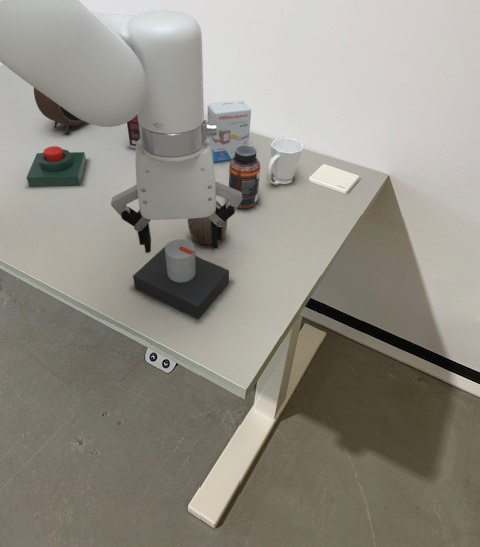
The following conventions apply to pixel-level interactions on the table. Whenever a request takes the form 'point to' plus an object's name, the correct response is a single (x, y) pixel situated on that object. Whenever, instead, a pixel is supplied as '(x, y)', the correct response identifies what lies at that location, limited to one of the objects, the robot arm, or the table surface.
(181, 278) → the dial
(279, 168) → the cup
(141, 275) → the dial panel
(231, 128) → the ink box
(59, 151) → the lid button
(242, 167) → the supplement bottle
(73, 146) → the table surface
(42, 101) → the alarm clock
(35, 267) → the table surface
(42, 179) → the green button base
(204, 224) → the vase
